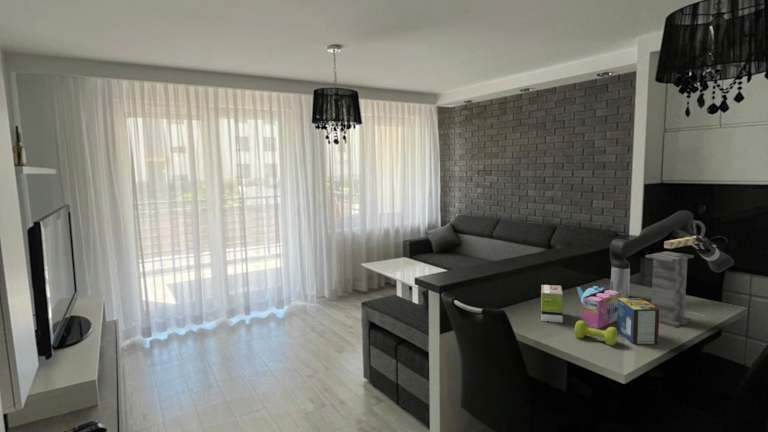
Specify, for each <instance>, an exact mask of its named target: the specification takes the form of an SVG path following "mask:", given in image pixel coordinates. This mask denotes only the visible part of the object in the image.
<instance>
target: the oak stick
mask: <svg viewBox="0 0 768 432" xmlns="http://www.w3.org/2000/svg"><path fill="white" fill-rule="evenodd" d="M701 236H702V235H700V236H699V237H700V238H701V239H702V237H701ZM695 239H696V236H692V237H686V238H685V237H682V238H681V237H680V238H676V239H670V240H665V241H664V242H663V247H664V249H675V248H680V247H687V245H689V246H692V244H697V243H698V242H697V241H696V240H695Z"/></svg>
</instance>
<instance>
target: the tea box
mask: <svg viewBox="0 0 768 432" xmlns="http://www.w3.org/2000/svg"><path fill="white" fill-rule="evenodd" d="M540 289H541V291H540V294H541V295H540V310H541V311H540V313H541V314H540V319H541V322H547V321H549V322H550V323H559V322H560V323H563V322H564V294H563V288H562V285H556V284H555V285H553V284H552V285H551V284H550V285H549V284H541V288H540ZM549 322H548V323H549Z"/></svg>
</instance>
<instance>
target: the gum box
mask: <svg viewBox="0 0 768 432" xmlns="http://www.w3.org/2000/svg"><path fill="white" fill-rule="evenodd" d="M618 298H621V291H619V293H618V292H616V291H611V290H610V288H604V290H601V291H599V292H596V293H594V294H591V295H588V296H586V297H583V304H582V321H585V323H586V325H587V327H588V328H594V329H598V330H600V329H601V328H603V327H606V326H607V325H610V324H611V323H613V322H617V312H618Z"/></svg>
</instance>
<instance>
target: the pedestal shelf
mask: <svg viewBox="0 0 768 432" xmlns="http://www.w3.org/2000/svg"><path fill="white" fill-rule="evenodd" d="M644 257H645V258H647V259H652V281H651V300H650V301H651V302H650V304H652V305H653V306H655V307H657V308H658V309H660V310H659V324H662V325H666V326H668V327H671V328H676V327H680V326H682V325H685V324H688V323H692V318H690V317H687V316H685V308H686V294H687V275H688V259H693V258H694V257H695V256H694V255H693V254H687V253H680V252H673V251H667V250H666V251H662V252H657V253H655V252H654V253H651V254H646V255H645V256H644Z"/></svg>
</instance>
